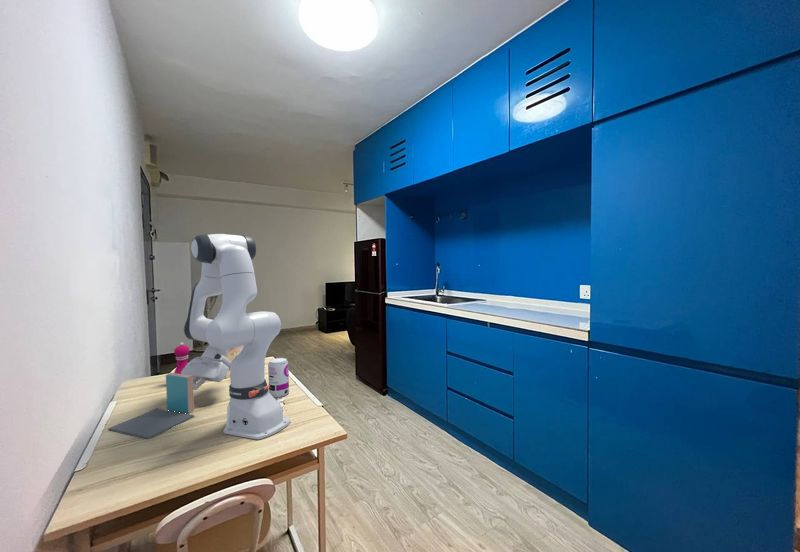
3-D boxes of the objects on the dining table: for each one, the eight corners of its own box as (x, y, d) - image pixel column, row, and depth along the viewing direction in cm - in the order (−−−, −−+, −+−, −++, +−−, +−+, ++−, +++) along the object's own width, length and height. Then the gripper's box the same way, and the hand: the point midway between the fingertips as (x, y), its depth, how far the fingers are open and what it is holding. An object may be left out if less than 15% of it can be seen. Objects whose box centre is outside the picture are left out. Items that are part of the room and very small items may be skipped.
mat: (156, 409, 126) (156, 408, 126) (194, 416, 120) (194, 415, 120) (108, 430, 111) (108, 428, 111) (149, 439, 104) (149, 437, 104)
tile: (173, 407, 128) (172, 372, 127) (194, 411, 124) (192, 375, 124) (167, 410, 125) (165, 374, 125) (188, 414, 122) (186, 377, 121)
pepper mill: (195, 381, 157) (194, 340, 156) (184, 386, 150) (182, 344, 149) (182, 380, 158) (180, 340, 157) (170, 386, 150) (168, 344, 150)
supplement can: (291, 390, 144) (290, 357, 143) (285, 397, 135) (284, 362, 135) (273, 390, 143) (272, 357, 143) (266, 398, 135) (265, 363, 135)
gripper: (190, 352, 140) (168, 383, 131) (226, 356, 133) (206, 388, 124) (199, 360, 144) (179, 389, 135) (235, 364, 138) (216, 395, 129)
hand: (192, 389), depth 130 cm, fingers closed
